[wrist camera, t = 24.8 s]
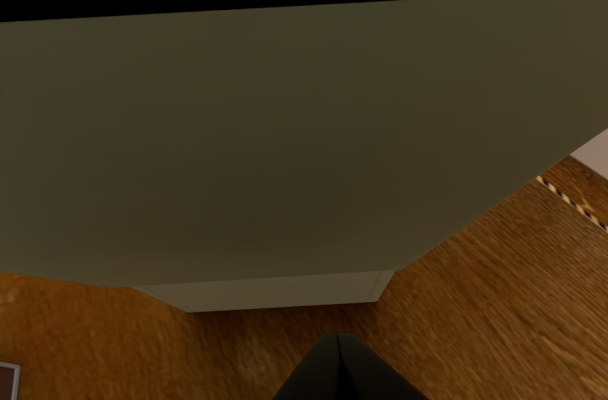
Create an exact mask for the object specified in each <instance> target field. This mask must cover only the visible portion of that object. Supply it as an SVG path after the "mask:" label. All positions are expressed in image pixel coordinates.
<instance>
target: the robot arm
mask: <svg viewBox="0 0 608 400" xmlns="http://www.w3.org/2000/svg"><path fill="white" fill-rule="evenodd" d="M272 400H429V399H428V398H427V397H426V396H425V395H423V394H422V393H421V392H420V391H419V390H418V389H416V388H415V387H414V386H413V385H412V384H411V383H409V382H408V381H407V380H406V379H405V378H404V377H403V376H401V375H400V374H399V373H398V372H397V371H396V370H394V369H393V368H392V367H391V366H390V365H389V364H387V363H386V362H385V361H384V360H383V359H382V358H381V357H379V356H378V355H377V354H376V353H375V352H374V351H372V350H371V349H370V348H369V347H368V346H367V345H365V344H364V343H363V342H362V341H361V340H360V339H359V338H357V337H356V336H355V335H354V334H352V333H340V334H338V335H336V334H322V335H321V336H320V337H319V338H318V339H317V341H316V342H315V343H314V345H313V346H312V347H311V349H310V350H309V351H308V353H307V354H306V355H305V357H304V358H303V359H302V361H301V362H300V363H299V364H298V366H297V367H296V368H295V370H294V371H293V372H292V374H291V375H290V376H289V378H288V379H287V380H286V382H285V383H284V384H283V385H282V387H281V388H280V389H279V391H278V392H277V393H276V395H275V396H274V397H273V399H272Z"/></svg>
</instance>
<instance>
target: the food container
mask: <svg viewBox="0 0 608 400" xmlns="http://www.w3.org/2000/svg"><path fill="white" fill-rule="evenodd" d="M19 374H20V365H16V364H10V363H4V362H0V400H17V392H18V383H19Z"/></svg>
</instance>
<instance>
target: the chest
mask: <svg viewBox="0 0 608 400" xmlns="http://www.w3.org/2000/svg"><path fill="white" fill-rule="evenodd" d="M395 271H396V270H387V271H371V272H355V273H339V274H323V275H307V276H291V277H275V278H259V279H243V280H227V281H211V282H195V283H179V284H163V285H147V286H131V288H133V289H135V290H138V291H140V292H142V293H144V294H147V295H149V296H151V297H153V298H156V299H158V300H160V301H162V302H165V303H167V304H169V305H172V306H174V307H176V308H178V309H181V310H183V311H185V312H187V313H188V312H206V311H223V310H240V309H258V308H275V307H292V306H309V305H327V304H344V303H361V302H377V301H378V299H379V297H380V296H381V294H382V292H383V291H384V289H385V287H386V286H387V284H388V282H389V281H390V279H391V277H392V276H393V274H394V272H395Z"/></svg>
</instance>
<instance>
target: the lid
mask: <svg viewBox="0 0 608 400" xmlns="http://www.w3.org/2000/svg"><path fill="white" fill-rule="evenodd" d="M607 128H608V0H0V271H2V272H9V273H15V274H22V275H28V276H35V277H41V278H48V279H55V280H61V281H68V282H74V283H81V284H87V285H94V286H100V287H107V288H115V287H131V286H147V285H163V284H179V283H195V282H211V281H227V280H243V279H259V278H275V277H291V276H307V275H323V274H339V273H355V272H371V271H387V270H402V269H404V268H406V267H407V266H408V265H410V264H411V263H413V262H414V261H416V260H417V259H419V258H420V257H422V256H423V255H424V254H426V253H427V252H429V251H430V250H432V249H433V248H435V247H436V246H437V245H439V244H440V243H442V242H443V241H445V240H446V239H448V238H449V237H451V236H452V235H453V234H455V233H456V232H458V231H459V230H461V229H462V228H464V227H465V226H466V225H468V224H469V223H471V222H472V221H474V220H475V219H477V218H478V217H479V216H481V215H482V214H484V213H485V212H487V211H488V210H490V209H491V208H493V207H494V206H495V205H497V204H498V203H500V202H501V201H503V200H504V199H506V198H507V197H508V196H510V195H511V194H513V193H514V192H516V191H517V190H519V189H520V188H522V187H523V186H524V185H526V184H527V183H529V182H530V181H532V180H533V179H535V178H536V177H537V176H539V175H540V174H542V173H543V172H545V171H546V170H548V169H549V168H551V167H552V166H553V165H555V164H556V163H558V162H559V161H561V160H562V159H564V158H565V157H566V156H568V155H569V154H571V153H572V152H574V151H575V150H577V149H578V148H579V147H581V146H582V145H584V144H585V143H587V142H588V141H590V140H591V139H592V138H594V137H595V136H597V135H598V134H600V133H601V132H603V131H604V130H606V129H607Z"/></svg>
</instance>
